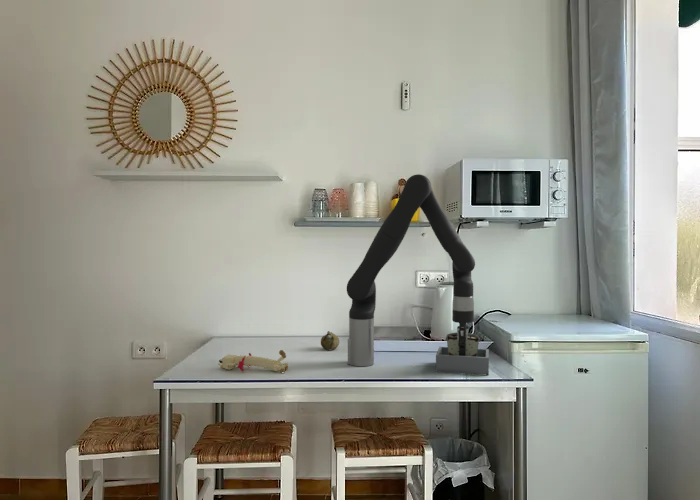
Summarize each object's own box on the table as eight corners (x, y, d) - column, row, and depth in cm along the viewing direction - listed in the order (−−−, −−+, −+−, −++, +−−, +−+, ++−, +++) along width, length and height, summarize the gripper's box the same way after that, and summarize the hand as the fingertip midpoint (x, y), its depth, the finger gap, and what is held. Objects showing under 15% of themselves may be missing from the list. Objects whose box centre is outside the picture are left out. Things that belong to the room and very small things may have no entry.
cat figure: (289, 371, 197) (224, 363, 201) (291, 348, 196) (226, 339, 201) (280, 379, 187) (213, 369, 192) (282, 354, 187) (214, 345, 191)
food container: (479, 360, 198) (480, 333, 197) (480, 364, 192) (480, 336, 191) (445, 358, 200) (445, 331, 200) (444, 362, 194) (445, 335, 194)
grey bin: (435, 371, 191) (435, 355, 191) (439, 362, 205) (439, 346, 204) (488, 375, 187) (488, 358, 186) (488, 365, 200) (488, 349, 200)
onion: (343, 349, 226) (343, 330, 225) (326, 352, 221) (326, 332, 221) (333, 346, 232) (333, 328, 232) (317, 349, 227) (317, 330, 227)
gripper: (473, 312, 187) (472, 360, 188) (474, 306, 201) (473, 351, 201) (451, 311, 189) (450, 359, 189) (453, 305, 203) (453, 350, 203)
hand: (462, 355), depth 195 cm, fingers closed on food container, 5 cm apart
